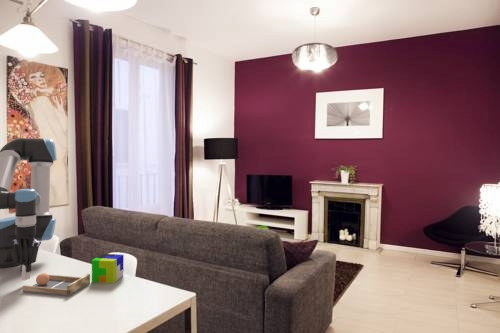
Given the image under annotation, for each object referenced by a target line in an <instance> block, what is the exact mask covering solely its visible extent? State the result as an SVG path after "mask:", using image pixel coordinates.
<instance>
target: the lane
mask: <svg viewBox="0 0 500 333" xmlns="http://www.w3.org/2000/svg"><path fill="white" fill-rule="evenodd" d="M73 282H74V281H62V280H51V279H49V281H48V283H47V284H45V285H39V284H37V283H35V284H33V285H32V286H35V287H46V288H58V289H67V286H68V285H69V284H71V283H73ZM90 284H91V281H90V282H89V283H88V284H86V285H84V286H83V287H81V288H79V289H78V290H76V291H75V292H73V293H71V294H70V295H66V294H55V293H44V292H33V291H23V290H22V293H27V294H28V293H31V294H42V295H50V296H51V295H53V296H63V297H64V296H65V297H70V296H72V295H74V294H75V293H77V292H79V291H81V290H82V289H83V288H85V287H87V286H88V285H90Z"/></svg>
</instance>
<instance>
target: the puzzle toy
mask: <svg viewBox="0 0 500 333" xmlns="http://www.w3.org/2000/svg"><path fill="white" fill-rule="evenodd" d="M124 256H125V255H124V254H116V253H114V254H113V253H112V254H111V253H102V254H100V255H99V256H97V257H95V258H93V259H92V260H91V283H101V284H103V283H104V284H114V283H116V282H117V281H118V280H120V279H121V278H122V277H123V276H124ZM115 281H116V282H115Z"/></svg>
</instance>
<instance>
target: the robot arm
mask: <svg viewBox="0 0 500 333" xmlns="http://www.w3.org/2000/svg"><path fill="white" fill-rule="evenodd" d="M21 161H27V164H28V165H29V166H30V168H31V169H30V170H31V171H30V173H31V175H30V188H20V189H17V190H15V191H10V190H11V188H12V183H13V180H14V176H15V172H16V169H17V166H18V164H20V162H21ZM55 161H57V149H56V143H55V142H54V140H53V139H51V138H35V137H34V138H27V137H25V138H24V137H20V138H19V137H18V138H15V139H13V140H10V141H9V142H7V143H6V144H5V145H3V146H2V147H1V149H0V210H11V209H12V210H13V209H15V215H14V216H9V217H5V218H1V219H0V269H3V268H11V267H16V266H20V272H21V280H22V281H27V280H29V279H30V278H31V272H32V264H34V263H36V262H37V259H38V258H37V257H38V253H39V249H40V246H41V244H42V242H43V241H49V240H51V239H53V237H54V233H55V229H56V220H57V219H56V217H53V214H52V212H50V197H51V196H50V191H51V190H50V187H51V186H50V185H51V183H50V182H51V178H50V177H51V166H53V165H54V162H55Z"/></svg>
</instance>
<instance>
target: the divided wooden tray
mask: <svg viewBox="0 0 500 333" xmlns="http://www.w3.org/2000/svg"><path fill="white" fill-rule="evenodd" d="M48 275H49V279H51V280H62V281H74V282H73V283H71V284H69V285H68V286H67V289H58V288H46V287H35V286H33V285H22V292H23V291H33V292H44V293H55V294H66V295H70V294H71V293H73V292H75V291H76V290H78V289H79V288H81V287H83V286H84V285H86V284H88V283H89V282H90V283H91V273H87V274H85V275H83V276H81V277H80V276H71V275H70V276H68V275H56V274H48ZM88 285H89V284H88ZM83 288H84V287H83ZM78 291H79V290H78ZM75 293H76V292H75ZM70 296H71V295H70Z"/></svg>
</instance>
